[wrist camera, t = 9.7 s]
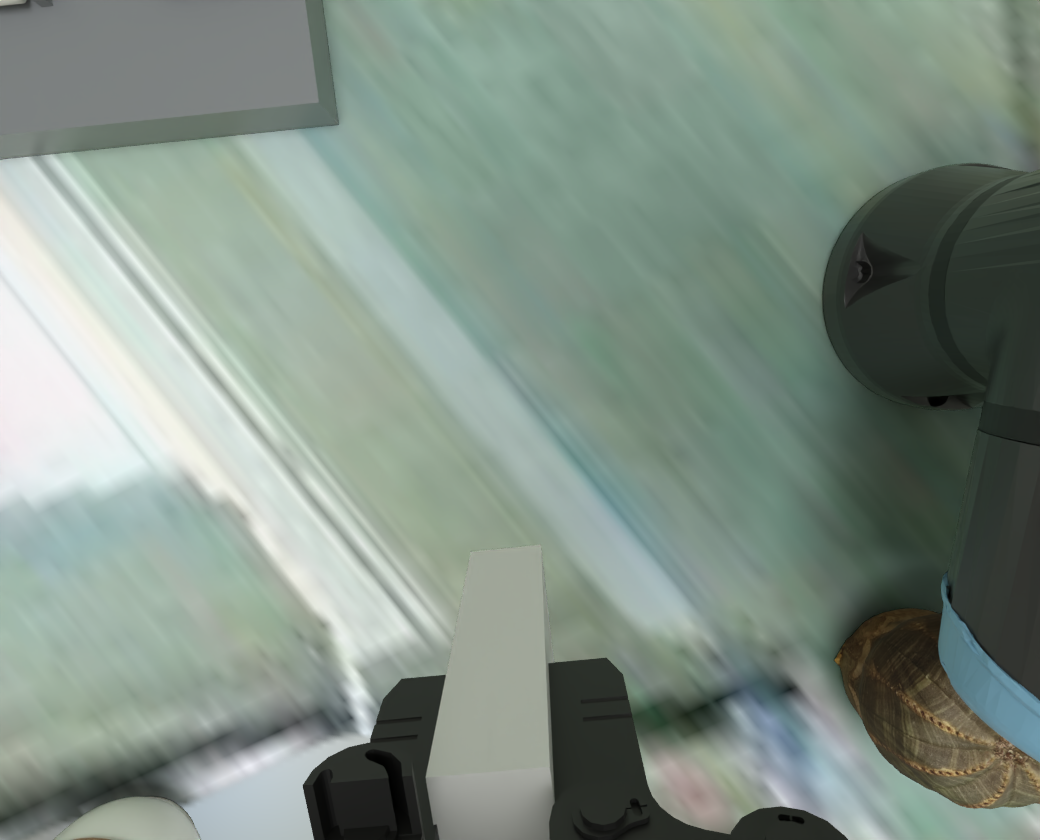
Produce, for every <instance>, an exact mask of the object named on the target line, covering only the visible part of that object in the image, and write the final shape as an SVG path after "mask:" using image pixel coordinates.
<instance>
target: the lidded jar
mask: <svg viewBox="0 0 1040 840" xmlns="http://www.w3.org/2000/svg"><path fill="white" fill-rule="evenodd" d="M54 840H201V839H200V836H199V834H198V832H197V830H196V828H195V826H194V823H193V821H192V819H191V817H190V816H189V815H188V813H187V812H186V811H185V810H184V809H183V808H182V807H180V806H179V805H178V804H176V803H174V802H172V801H170V800H168V799H165V798H161V797H153V796H149V797H127V798H122V799H118V800H113V801H111V802H108V803H105V804H103V805H101V806H98V807H96V808H94V809H93V810H91V811H89V812H87V813H85V814H84V815H83V816H81V817H80V818H78V819H77V820H76V821H74V822H73V823H72V824H71V825H69V826H68V827H67V828H66V829H65V830H63V831H62V832H61V833H60V834H59V835H58V836H57V837H55V839H54Z"/></svg>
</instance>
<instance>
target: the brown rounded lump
mask: <svg viewBox="0 0 1040 840" xmlns="http://www.w3.org/2000/svg"><path fill="white" fill-rule="evenodd" d="M941 619H942V613H936V612H933V611H929V610H922V609H915V608H907V609H897V610H892V611H888V612H884V613H881V614H878V615H876V616H874V617H872V618H870V619H868V620H867V621H865V622H864V623H863V624H862V625H861V626H860V627H859V628H858V629H857V630H856V631H855V632H854V634H853V635H852V636H851V637H849V638H848V639H847V640H846V641H845V643H844V644H843V646H842V648H841V649H840V651H839V653H838V655H837V657H836V658H835V662H836V663H837V664H838V665H839V666H840V668H841V672H842V676H843V682H844V687H845V691H846V694H847V696H848V698H849V700H850V702H851V704H852V705H853V707H854V708H855V710H856V711H857V713H858V714H859V716H860V717H861V719H862V720H863V724H864V726H865V728H866V730H867V732H868V734H869V736H870V738H871V739H872V741H873V742H874V744H875V745H876V747H877V749H878V750H879V752H880V753H881V754H882V756H883V757H884V758H885V759H886V760H887V761H888V762H889V763H890V764H892V765H893V766H894V767H895V768H896V769H897V770H898V771H899V772H900V773H902V774H903V775H905V776H906V777H908V778H910V779H912V780H913V781H915V782H917V783H919V784H921V785H922V786H924V787H925V788H928V789H930V790H933V791H935V792H937V793H939V794H941V795H942V796H944V797H946V798H948V799H949V800H950V801H952V802H954V803H956V804H958V805H960V806H964V807H967V808H987V809H993V808H998V807H1003V806H1004V807H1023V806H1027V805H1030V804H1034V803H1038V804H1040V762H1038V761H1037V760H1035V759H1033V758H1032V757H1030V756H1029V755H1027V754H1026V753H1024V752H1023V751H1021V750H1020V749H1019V748H1017V747H1016V746H1014V745H1013V744H1011V743H1010V742H1009V741H1007V740H1006V739H1005V738H1003V737H1002V736H1001V735H999V734H998V733H997V732H995V731H994V730H993V729H992V728H991V727H989V726H988V725H987V724H986V723H985V722H984V721H983V720H981V719H980V718H979V717H978V716H977V715H976V714H975V713H974V712H973V711H972V710H971V709H970V708H969V707H968V706H967V704H966V703H965V702H964V701H963V700H962V699H961V697H960V696H959V695H958V694H957V692H956V691H955V690H954V688H953V686H952V685H951V682H950V679H949V678H948V675H947V673H946V671H945V670H944V668H943V666H942V664H941V662H940V657H939V651H938V640H939V633H940V626H941Z"/></svg>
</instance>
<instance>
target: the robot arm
mask: <svg viewBox="0 0 1040 840" xmlns="http://www.w3.org/2000/svg"><path fill="white" fill-rule="evenodd" d="M823 307H824V316H825V322H826V327H827V330H828V334H829V337H830V339H831V342H832V344H833V347H834V349H835V351H836V353H837V354H838V356H839V358H840V359H841V361H842V362H843V364H844V365H845V367H846V368H847V369H848V370H849V371H850V373H851V374H852V375H853V376H854V377H855V378H856V379H857V380H859V381H860V382H861V383H862V384H863V385H865V386H866V387H867V388H869V389H870V390H872V391H873V392H875V393H877V394H879V395H880V396H882V397H885V398H887V399H889V400H892V401H895V402H898V403H902V404H906V405H910V406H915V407H919V408H924V409H931V410H964V409H971V408H976V407H980V406H983V408H982V413H981V418H980V423H979V427H978V430H977V434H976V439H975V444H974V449H973V454H972V458H971V463H970V468H969V473H968V478H967V483H966V487H965V492H964V497H963V502H962V507H961V511H960V516H959V521H958V526H957V531H956V535H955V540H954V545H953V550H952V555H951V559H950V564H949V569H948V571H947V572H946V573H945V574H944V575H943V579H942V584H941V595H942V599H943V603H944V604H943V611H942V619H941V626H940V633H939V640H938V651H939V657H940V662H941V664H942V666H943V668H944V670H945V671H946V673H947V675H948V678H949V679H950V682H951V685H952V686H953V688H954V690H955V691H956V692H957V694H958V695H959V696H960V697H961V699H962V700H963V701H964V702H965V703H966V704H967V706H968V707H969V708H970V709H971V710H972V711H973V712H974V713H975V714H976V715H977V716H978V717H979V718H980V719H981V720H983V721H984V722H985V723H986V724H987V725H988V726H989V727H991V728H992V729H993V730H994V731H995V732H997V733H998V734H999V735H1001V736H1002V737H1003V738H1005V739H1006V740H1007V741H1009V742H1010V743H1011V744H1013V745H1014V746H1016V747H1017V748H1019V749H1020V750H1021V751H1023V752H1024V753H1026V754H1027V755H1029V756H1030V757H1032V758H1033V759H1035V760H1037V761H1038V762H1040V170H1037V171H1033V172H1030V173H1029V172H1023V171H1016V170H1011V169H1007V168H1002V167H998V166H994V165H988V164H979V163H966V164H954V165H947V166H942V167H938V168H934V169H931V170H928V171H925V172H922V173H919V174H916V175H913V176H911V177H908V178H905V179H903V180H901V181H899V182H896V183H894V184H893V185H891V186H889V187H887V188H886V189H884V190H883V191H881V192H879V193H878V194H877V195H875V196H874V197H873V198H872V199H870V200H869V201H868V202H867V203H866V204H865V205H864V206H863V207H862V208H861V209H860V210H859V211H858V212H857V213H856V214H855V215H854V217H853V218H852V219H851V220H850V222H849V223H848V224H847V226H846V227H845V229H844V230H843V232H842V233H841V235H840V237H839V239H838V241H837V243H836V245H835V247H834V249H833V252H832V254H831V257H830V260H829V263H828V267H827V271H826V275H825V281H824V291H823ZM376 722H377V723H376V725H375V726H374V729H373V732H372V735H371V738H370V743H366V744H361V745H357V746H352V747H349V748H346V749H344V750H342V751H340V752H338V753H336V754H334V755H332V756H330V757H328V758H327V759H326V760H325V761H323V762H322V763H321V764H320V765H319V766H317V767H316V768H315V769H314V770H313V771H312V772H311V774H310V775H309V777H308V778H307V780H306V781H305V783H304V784H303V789H304V794H305V799H306V804H307V808H308V813H309V818H310V822H311V827H312V832H313V836H314V840H848V839H847V838H846V837H845V836H844V835H843V834H842V833H841V832H839V831H838V830H837V829H836V828H835V827H833V826H832V825H831V824H830V823H829V822H828V821H826V820H824V819H821V818H819V817H817V816H815V815H813V814H811V813H808V812H806V811H804V810H798V809H792V808H787V807H781V806H780V807H772V808H763V809H758V810H756V811H754V812H752V813H750V814H748V815H746V816H744V817H742V818H741V819H740V821H739V822H738V824H737V825H736V826H735V828H734V829H733V830H732V832H731V835H730V834H724V833H719V832H714V831H709V830H704V829H701V828H697V827H694V826H690V825H687V824H685V823H683V822H681V821H679V820H677V819H676V818H674V817H672V816H671V815H670V814H668V813H667V812H666V811H665V810H663V809H662V808H661V807H660V806H659V805H658V803H657V802H656V801H655V799H654V798H653V797H652V795H651V792H650V790H649V787H648V785H647V780H646V776H645V771H644V767H643V762H642V758H641V753H640V749H639V744H638V740H637V735H636V731H635V726H634V722H633V718H632V713H631V709H630V704H629V700H628V695H627V691H626V686H625V682H624V677H623V674H622V673H621V672H620V671H619V670H618V669H617V668H616V667H615V666H614V665H613V664H612V663H611V662H610V661H609V660H608V659H607V658H599V659H589V660H578V661H567V662H556V663H554V655H553V646H552V637H551V628H550V620H549V611H548V602H547V593H546V584H545V575H544V567H543V558H542V549H541V545H531V546H521V547H511V548H501V549H491V550H481V551H471V553H470V558H469V563H468V568H467V573H466V578H465V583H464V588H463V593H462V598H461V603H460V608H459V613H458V618H457V623H456V628H455V633H454V638H453V643H452V648H451V653H450V658H449V663H448V668H447V673H446V675H440V676H429V677H418V678H407V679H401V680H400V681H399V683H398V684H397V685H396V686H395V687H394V688H393V689H392V690H391V691H390V692H389V693H388V695H387V696H386V697H385V698H384V699H383V702H382V705H381V708H380V711H379V714H378V717H377V720H376Z"/></svg>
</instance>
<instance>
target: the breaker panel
mask: <svg viewBox="0 0 1040 840" xmlns="http://www.w3.org/2000/svg"><path fill="white" fill-rule="evenodd" d="M330 125H339V123H338V116H337V108H336V101H335V93H334V85H333V78H332V70H331V63H330V55H329V48H328V40H327V33H326V25H325V18H324V10H323V3H322V0H27V1H26V2H25V3H24V4H14V5H4V6H0V159H8V158H17V157H27V156H37V155H47V154H56V153H66V152H76V151H86V150H96V149H105V148H115V147H125V146H135V145H144V144H154V143H164V142H174V141H184V140H193V139H203V138H213V137H223V136H232V135H242V134H252V133H262V132H272V131H281V130H291V129H301V128H311V127H320V126H330Z"/></svg>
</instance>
